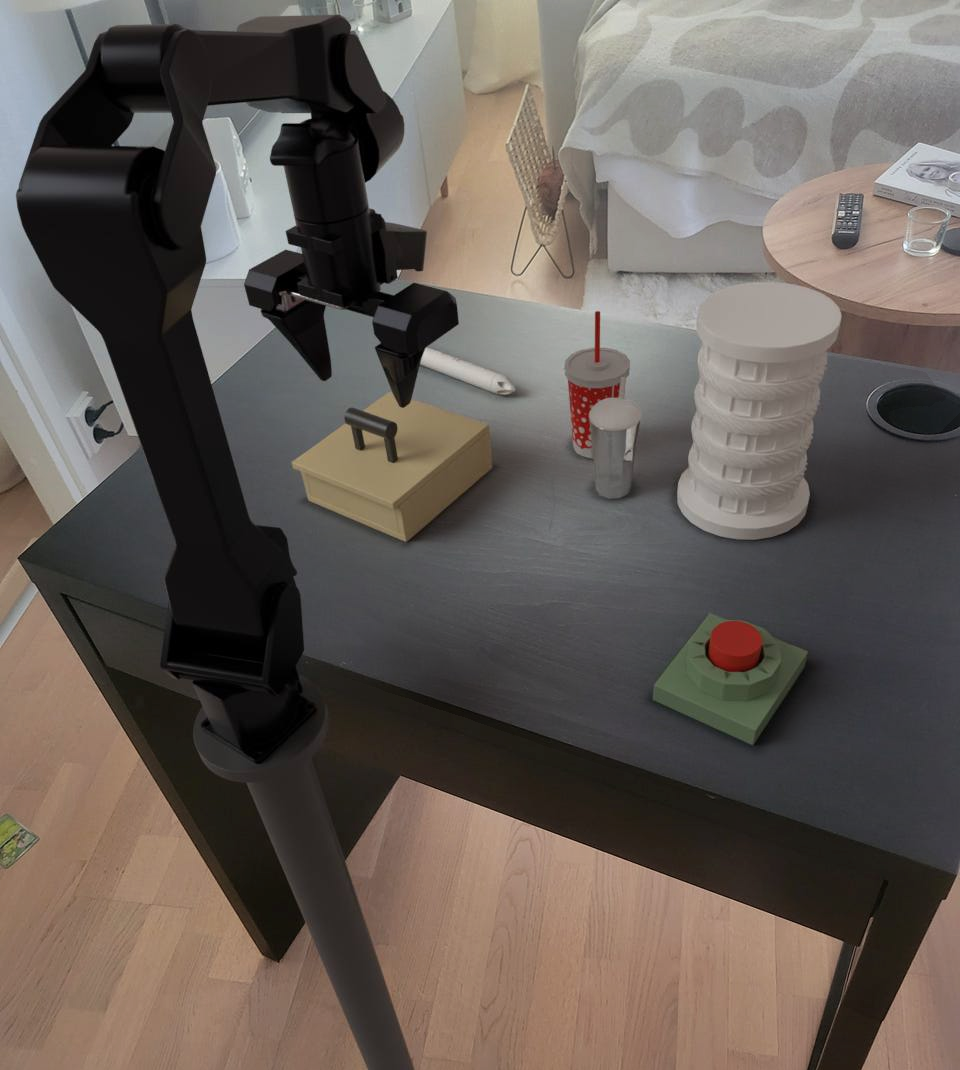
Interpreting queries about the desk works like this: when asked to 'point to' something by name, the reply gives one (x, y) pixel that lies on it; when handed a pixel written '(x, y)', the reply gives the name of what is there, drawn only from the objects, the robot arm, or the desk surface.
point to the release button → (735, 646)
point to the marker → (467, 372)
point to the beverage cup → (592, 385)
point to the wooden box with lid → (390, 449)
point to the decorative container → (755, 407)
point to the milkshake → (614, 443)
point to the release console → (729, 684)
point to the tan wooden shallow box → (415, 507)
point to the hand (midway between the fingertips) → (365, 391)
